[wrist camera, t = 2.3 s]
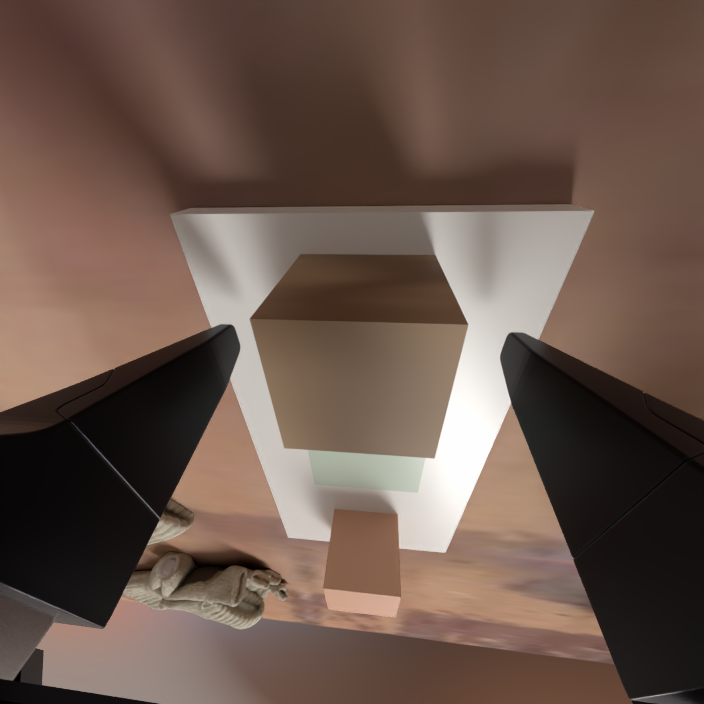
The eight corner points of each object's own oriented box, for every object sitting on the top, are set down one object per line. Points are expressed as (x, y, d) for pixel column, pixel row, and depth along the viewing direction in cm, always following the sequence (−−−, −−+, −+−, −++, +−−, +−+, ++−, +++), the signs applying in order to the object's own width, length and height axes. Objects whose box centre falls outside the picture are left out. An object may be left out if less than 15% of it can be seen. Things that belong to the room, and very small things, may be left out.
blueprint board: (442, 536, 24) (445, 555, 23) (292, 522, 25) (287, 540, 24) (572, 204, 9) (599, 212, 8) (190, 207, 10) (165, 215, 9)
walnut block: (435, 254, 9) (468, 324, 6) (419, 363, 12) (434, 458, 8) (300, 254, 10) (249, 319, 6) (314, 359, 12) (284, 448, 9)
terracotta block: (397, 514, 20) (400, 597, 16) (393, 541, 22) (395, 617, 19) (334, 509, 20) (323, 588, 16) (337, 535, 23) (328, 609, 19)
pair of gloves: (-42, 492, 29) (-115, 550, 25) (128, 455, 22) (65, 530, 17) (166, 589, 45) (143, 635, 40) (307, 586, 37) (297, 643, 33)
